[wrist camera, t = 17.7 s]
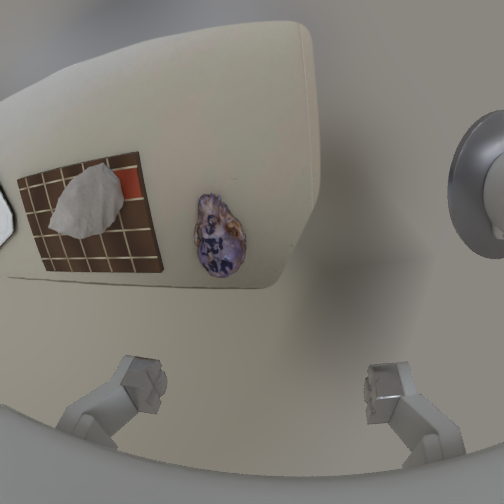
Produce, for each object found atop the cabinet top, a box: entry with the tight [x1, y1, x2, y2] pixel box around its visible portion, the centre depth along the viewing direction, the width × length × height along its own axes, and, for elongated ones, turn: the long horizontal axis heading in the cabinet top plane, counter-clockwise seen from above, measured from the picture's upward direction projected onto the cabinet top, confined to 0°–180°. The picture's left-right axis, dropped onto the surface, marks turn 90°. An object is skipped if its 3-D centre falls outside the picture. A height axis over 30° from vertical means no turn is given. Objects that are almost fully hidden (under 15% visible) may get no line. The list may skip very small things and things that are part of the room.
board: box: [17, 151, 164, 273], centre depth 48 cm, size 28×20×1 cm
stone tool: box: [48, 163, 124, 239], centre depth 37 cm, size 9×3×15 cm, turn 14°
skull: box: [195, 193, 246, 278], centre depth 44 cm, size 12×8×6 cm, turn 3°
